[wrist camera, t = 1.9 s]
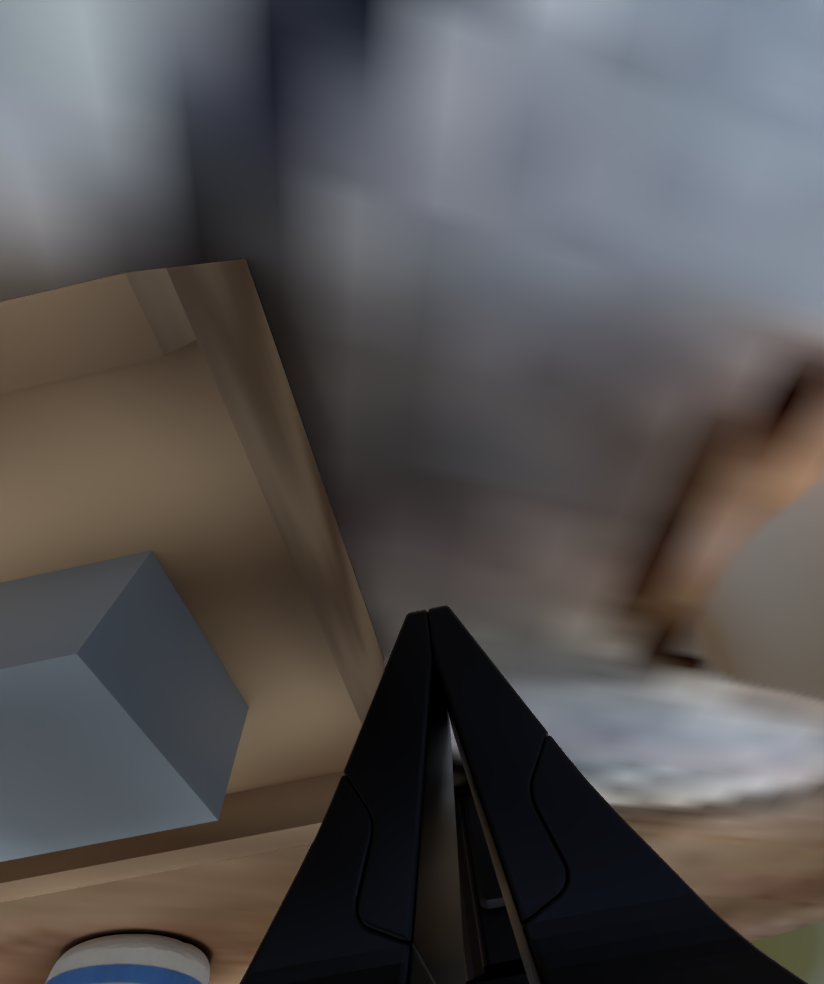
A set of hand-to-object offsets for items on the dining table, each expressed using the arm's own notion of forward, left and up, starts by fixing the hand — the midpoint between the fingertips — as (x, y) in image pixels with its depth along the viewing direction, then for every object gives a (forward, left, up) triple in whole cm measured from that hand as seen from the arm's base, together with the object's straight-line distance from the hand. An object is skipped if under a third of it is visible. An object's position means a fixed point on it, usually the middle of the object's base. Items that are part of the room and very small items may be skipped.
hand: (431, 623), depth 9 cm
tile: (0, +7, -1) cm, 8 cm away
